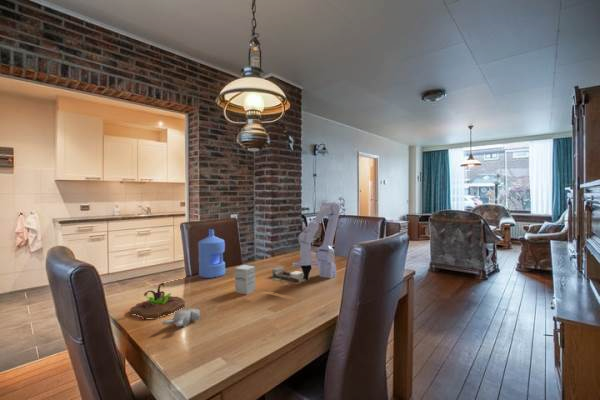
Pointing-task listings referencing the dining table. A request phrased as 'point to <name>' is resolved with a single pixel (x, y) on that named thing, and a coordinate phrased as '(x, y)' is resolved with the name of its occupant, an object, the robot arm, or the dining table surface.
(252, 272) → the supplement box
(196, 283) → the dining table surface
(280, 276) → the gauge board
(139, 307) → the plant
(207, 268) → the water jug
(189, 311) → the bunny figurine
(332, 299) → the dining table surface
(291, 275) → the white block with bar
